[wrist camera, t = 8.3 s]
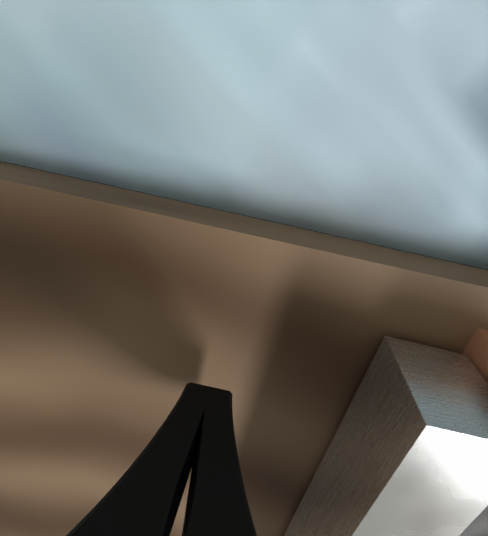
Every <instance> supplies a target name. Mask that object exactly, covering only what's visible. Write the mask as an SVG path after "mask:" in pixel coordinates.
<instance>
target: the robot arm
mask: <svg viewBox="0 0 488 536" xmlns="http://www.w3.org/2000/svg"><path fill="white" fill-rule="evenodd" d="M232 396H233V395H232V393H231V392H230V391H228V390H223V389H219V388H214V387H210V386H205V385H201V384H196V383H192V382H190V383H188V384H186V386H185V388H184V390H183V392H182V394H181V396H180V398H179V399H178V401H177V403H176V405H175V406H174V408H173V409H172V411H171V412H170V414H169V415H168V417H167V419H166V420H165V421H164V423H163V424H162V426H161V427H160V428H159V430H158V431H157V433H156V434H155V435H154V437H153V438H152V440H151V441H150V442H149V444H148V445H147V446H146V447H145V449H144V450H143V451H142V452H141V454H140V455H139V456H138V457H137V459H136V460H135V461H134V462H133V464H132V465H131V466H130V467H129V468H128V470H127V471H126V472H125V473H124V474H123V476H122V477H121V478H120V479H119V480H118V481H117V483H116V484H115V485H114V486H113V487H112V488H111V489H110V490H109V492H108V493H107V494H106V495H105V496H104V497H103V498H102V499H101V500H100V501H99V502H98V503H97V505H96V506H95V507H94V508H93V509H92V510H91V511H90V512H89V513H88V514H87V515H86V516H85V517H84V518H83V519H82V520H81V521H80V522H79V523H78V524H77V525H76V526H75V527H74V528H73V529H72V530H71V531H70V532H69V533H68V534H67V535H66V536H170V534H171V530H172V527H173V524H174V521H175V518H176V515H177V512H178V509H179V506H180V502H181V499H182V496H183V493H184V490H185V487H186V484H187V481H188V478H189V474H190V471H191V476H190V483H189V490H188V497H187V503H186V510H185V517H184V524H183V530H182V536H257V534H256V530H255V527H254V523H253V520H252V516H251V512H250V508H249V505H248V501H247V496H246V492H245V488H244V483H243V479H242V474H241V469H240V464H239V458H238V452H237V447H236V440H235V433H234V424H233V411H232ZM191 468H192V470H191Z"/></svg>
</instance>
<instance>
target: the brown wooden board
mask: <svg viewBox="0 0 488 536" xmlns="http://www.w3.org/2000/svg"><path fill="white" fill-rule="evenodd" d="M385 336H388V337H392V338H397V339H401V340H405V341H409V342H414V343H418V344H422V345H427V346H431V347H435V348H439V349H444V350H448V351H452V352H456V353H461V354H465V355H467V357H468V358H469V359H470V361H471V362H472V363H473V365H474V366H475V367H476V369H477V370H478V371H479V373H480V374H481V375H482V377H483V378H484V379H485V381H486V382H487V383H488V270H485V269H481V268H476V267H472V266H467V265H463V264H458V263H454V262H449V261H445V260H440V259H436V258H431V257H427V256H423V255H418V254H414V253H409V252H405V251H400V250H396V249H391V248H387V247H382V246H378V245H373V244H369V243H364V242H360V241H355V240H351V239H346V238H342V237H337V236H333V235H328V234H324V233H320V232H315V231H311V230H306V229H302V228H297V227H293V226H288V225H284V224H279V223H275V222H270V221H266V220H261V219H257V218H252V217H248V216H243V215H239V214H234V213H230V212H225V211H221V210H217V209H212V208H208V207H203V206H199V205H194V204H190V203H185V202H181V201H176V200H172V199H167V198H163V197H158V196H154V195H149V194H145V193H140V192H136V191H131V190H127V189H122V188H118V187H114V186H109V185H105V184H100V183H96V182H91V181H87V180H82V179H78V178H73V177H69V176H64V175H60V174H55V173H51V172H46V171H42V170H37V169H33V168H28V167H24V166H19V165H15V164H11V163H6V162H2V161H0V536H66V535H67V534H68V533H69V532H70V531H71V530H72V529H73V528H74V527H75V526H76V525H77V524H78V523H79V522H80V521H81V520H82V519H83V518H84V517H85V516H86V515H87V514H88V513H89V512H90V511H91V510H92V509H93V508H94V507H95V506H96V505H97V503H98V502H99V501H100V500H101V499H102V498H103V497H104V496H105V495H106V494H107V493H108V492H109V490H110V489H111V488H112V487H113V486H114V485H115V484H116V483H117V481H118V480H119V479H120V478H121V477H122V476H123V474H124V473H125V472H126V471H127V470H128V468H129V467H130V466H131V465H132V464H133V462H134V461H135V460H136V459H137V457H138V456H139V455H140V454H141V452H142V451H143V450H144V449H145V447H146V446H147V445H148V444H149V442H150V441H151V440H152V438H153V437H154V435H155V434H156V433H157V431H158V430H159V428H160V427H161V426H162V424H163V423H164V421H165V420H166V419H167V417H168V415H169V414H170V412H171V411H172V409H173V408H174V406H175V405H176V403H177V401H178V399H179V398H180V396H181V394H182V392H183V390H184V388H185V386H186V384H188V383H190V382H192V383H196V384H201V385H205V386H210V387H214V388H219V389H223V390H228V391H230V392H231V393H232V395H233V396H232V411H233V424H234V433H235V440H236V447H237V452H238V458H239V464H240V469H241V474H242V479H243V483H244V488H245V492H246V496H247V501H248V505H249V508H250V512H251V516H252V520H253V523H254V527H255V530H256V534H257V536H284V534H285V532H286V530H287V528H288V526H289V524H290V522H291V520H292V518H293V516H294V514H295V512H296V510H297V508H298V507H299V505H300V503H301V501H302V499H303V497H304V495H305V493H306V491H307V489H308V487H309V485H310V483H311V481H312V479H313V477H314V475H315V473H316V471H317V469H318V467H319V465H320V463H321V461H322V459H323V457H324V455H325V453H326V451H327V449H328V447H329V445H330V443H331V441H332V439H333V437H334V435H335V433H336V431H337V429H338V427H339V425H340V424H341V422H342V420H343V418H344V416H345V414H346V412H347V410H348V408H349V406H350V404H351V402H352V400H353V398H354V396H355V394H356V392H357V390H358V388H359V386H360V384H361V382H362V380H363V378H364V376H365V374H366V372H367V370H368V368H369V366H370V364H371V362H372V360H373V358H374V356H375V354H376V352H377V350H378V348H379V346H380V344H381V343H382V341H383V339H384V337H385ZM191 470H192V468H191ZM190 476H191V471H190V474H189V478H188V481H187V484H186V487H185V490H184V493H183V496H182V499H181V502H180V506H179V509H178V512H177V515H176V518H175V521H174V524H173V527H172V530H171V534H170V536H182V530H183V524H184V517H185V510H186V503H187V497H188V490H189V483H190Z"/></svg>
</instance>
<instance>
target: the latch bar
mask: <svg viewBox="0 0 488 536" xmlns="http://www.w3.org/2000/svg"><path fill="white" fill-rule="evenodd" d="M487 505H488V383H487V382H486V381H485V379H484V378H483V377H482V375H481V374H480V373H479V371H478V370H477V369H476V367H475V366H474V365H473V363H472V362H471V361H470V359H469V358H468V357H467V355H465V354H461V353H456V352H452V351H448V350H444V349H439V348H435V347H431V346H427V345H422V344H418V343H414V342H409V341H405V340H401V339H397V338H392V337H388V336H385V337H384V339H383V341H382V343H381V344H380V346H379V348H378V350H377V352H376V354H375V356H374V358H373V360H372V362H371V364H370V366H369V368H368V370H367V372H366V374H365V376H364V378H363V380H362V382H361V384H360V386H359V388H358V390H357V392H356V394H355V396H354V398H353V400H352V402H351V404H350V406H349V408H348V410H347V412H346V414H345V416H344V418H343V420H342V422H341V424H340V425H339V427H338V429H337V431H336V433H335V435H334V437H333V439H332V441H331V443H330V445H329V447H328V449H327V451H326V453H325V455H324V457H323V459H322V461H321V463H320V465H319V467H318V469H317V471H316V473H315V475H314V477H313V479H312V481H311V483H310V485H309V487H308V489H307V491H306V493H305V495H304V497H303V499H302V501H301V503H300V505H299V507H298V508H297V510H296V512H295V514H294V516H293V518H292V520H291V522H290V524H289V526H288V528H287V530H286V532H285V534H284V536H459V535H460V534H461V533H462V532H463V531H464V530H465V529H466V528H467V526H468V525H469V524H470V523H471V522H472V521H473V520H474V519H475V518H476V517H477V516H478V515H479V514H480V513H481V512H482V511H483V510H484V508H485V507H486V506H487Z"/></svg>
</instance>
